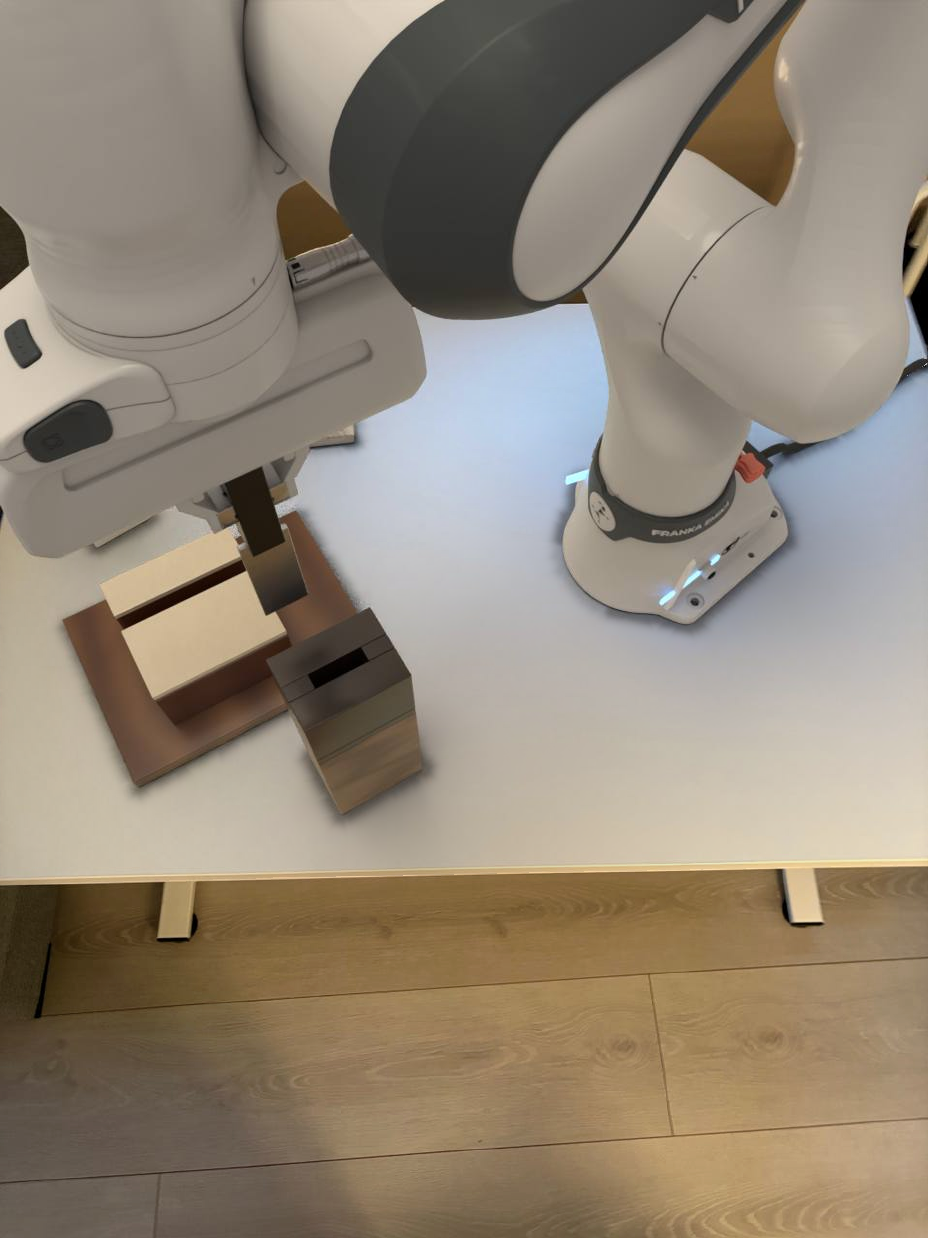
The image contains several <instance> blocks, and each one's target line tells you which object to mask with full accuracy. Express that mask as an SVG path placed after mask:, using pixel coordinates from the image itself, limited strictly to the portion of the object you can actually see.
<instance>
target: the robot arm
mask: <svg viewBox="0 0 928 1238" xmlns="http://www.w3.org/2000/svg"><path fill="white" fill-rule="evenodd" d="M801 6H802V7H801ZM800 7H801V9H800ZM799 9H800V10H799ZM798 10H799V12H798ZM796 12H798V14H797V15H796V17H795V18H794V20H793V21H792V22H791V24H790V25H789V27H788V29H787V31H786V32H785V34H784V35H783V37H782V39H781V40H780V43H779V46H778V49H777V53H776V55H775V61H774V68H773V92H774V97H775V101H776V104H777V108H778V110H779V113H780V115H781V118H782V120H783V122H784V125H785V127H786V129H787V131H788V134H789V136H790V138H791V140H792V142H793V145H794V159H793V165H792V171H791V175H790V178H789V180H788V183H787V185H786V187H785V190H784V193H783V194H782V196H781V198H780V200H779V201H778V203H777V204H776V205H773V204H772V203H770V202H768V201H767V200H766V199H764V198H763V197H761V196H760V195H758V194H757V193H756V192H755V191H753V190H752V189H750V188H749V187H747V186H746V185H745V184H743V183H742V182H740V181H739V180H737V179H736V178H735V177H733V176H732V175H730V174H729V173H728V172H726V171H724V169H722V168H720V167H719V166H718V165H716V164H714V163H713V162H712V161H710V160H709V159H707V158H706V157H704V156H703V155H701V154H699V153H697V152H695V151H692V150H690V149H687V146H688V144H690V141H691V140H692V139H693V137H694V136H695V134H696V133H697V132H698V131H699V129H700V128H701V127H702V126H703V124H704V123H705V122H706V120H708V119H709V117H710V116H711V115H712V113H713V112H714V111H715V109H716V108H717V107H718V106H719V104H721V102H722V101H723V100H724V99H725V97H726V96H727V95H728V94H729V92H731V91H732V89H733V88H734V86H735V85H736V84H737V83H738V82H739V81H740V80H741V78H742V77H743V76H744V75H745V74H746V72H747V71H748V70H749V68H751V66H752V65H753V64H754V62H755V61H756V60H757V59H758V58H759V56H760V55H761V54H762V53H763V52H764V51H765V50H766V49H767V47H768V46H769V45H770V44H771V42H772V41H773V40H774V39H775V37H777V35H778V34H779V33H780V32H781V31H782V30H783V28H784V27H785V26H786V24H787V23H788V22H789V21H790V20H791V18H792V17H793V16H794V15H795V14H796ZM927 173H928V0H0V207H1V208H2V210H3V211H5V213H7V214H8V215H9V216H10V217H11V218H12V220H13V221H14V222H15V223H16V224H17V226H18V227H19V229H20V230H21V232H22V234H23V236H24V241H25V246H26V253H27V259H28V266H27V267H26V268H25V269H23V270H22V271H21V272H20V273H19V274H18V275H17V276H16V277H14V278H13V279H11V281H10V282H8V283H7V284H5V286H3V287H2V288H1V289H0V508H1V510H2V512H3V514H4V516H5V518H6V521H7V523H8V524H9V526H10V528H11V530H12V532H13V534H14V535H15V537H16V539H17V540H18V542H19V543H20V544H21V546H22V547H23V548H24V550H25V551H26V552H27V554H29V555H30V556H32V557H38V558H45V559H61V558H64V557H66V556H68V555H70V554H72V553H75V552H77V551H78V550H81V549H83V548H85V547H88V546H89V545H93V544H94V542H96V541H99V540H101V539H103V538H105V537H107V536H110V535H112V534H114V533H116V532H118V531H121V530H123V529H125V528H127V527H129V526H132V525H134V524H136V523H138V522H140V521H143V520H145V519H147V518H149V517H150V518H151V517H153V516H156V515H158V514H160V513H163V512H164V511H167V510H169V509H171V508H173V507H176V509H177V511H178V512H180V513H184V514H186V515H190V516H193V517H196V518H199V519H202V520H205V521H206V523H207V525H208V527H209V528H210V530H211V532H213V533H214V534H216V533H218V532H220V531H222V530H223V529H226V528H228V527H229V528H230V527H231V526H234V525H236V523H238V522H239V520H238V518H237V516H236V513H235V510H234V507H233V505H232V504H231V502H230V500H229V498H228V497H227V496H226V494H225V492H224V490H223V488H222V486H221V485H222V484H224V483H226V482H228V481H230V480H233V479H235V478H237V477H239V476H241V475H244V474H246V473H248V472H250V471H252V470H254V469H257V468H259V467H261V466H262V467H263V471H264V474H265V477H266V480H267V483H268V486H269V490H270V493H271V496H272V499H273V502H274V505H275V506H277V505H279V504H282V503H285V502H286V501H288V500H290V499H293V498H295V497H297V496H299V491H298V487H297V483H296V478H297V477H298V475H299V473H300V471H301V469H302V467H303V466H304V464H305V462H306V460H307V458H308V456H309V455H310V452H311V450H310V447H309V444H312V443H314V442H316V441H318V440H320V439H323V438H325V437H327V436H329V435H331V434H334V433H336V432H338V431H340V430H342V429H345V428H347V427H349V426H351V425H353V424H354V425H356V424H357V423H360V422H362V421H364V420H366V419H368V418H371V417H373V416H375V415H378V414H380V413H382V412H384V411H386V410H388V409H391V408H393V407H395V406H397V405H399V404H402V403H404V402H406V401H408V400H411V399H413V397H415V395H416V394H417V393H418V391H419V390H420V388H421V387H422V385H423V384H424V382H425V380H426V378H427V373H428V370H427V359H426V354H425V348H424V343H423V338H422V334H421V330H420V327H419V323H418V320H417V319H418V318H417V316H416V314H415V311H414V308H415V309H416V310H418V311H420V312H422V313H424V314H426V315H429V316H432V317H434V318H437V319H438V318H439V319H443V320H453V321H488V320H489V321H491V320H499V319H501V320H502V319H507V318H513V317H519V316H524V315H528V314H534V313H536V312H540V311H543V310H546V309H549V308H551V307H554V306H557V305H559V304H561V303H564V302H566V301H567V300H569V299H571V298H573V297H574V296H575V295H577V294H578V293H579V292H580V291H582V292H583V294H584V296H585V299H586V301H587V304H588V308H589V310H590V313H591V316H592V318H593V322H594V325H595V329H596V333H597V337H598V341H599V345H600V349H601V353H602V357H603V362H604V367H605V373H606V377H607V387H608V400H607V407H606V415H605V421H604V427H603V432H602V433H601V435H600V436H599V438H598V440H597V443H596V444H595V447H594V449H593V451H592V455H591V461H590V464H589V466H588V469H585V470H582V471H579V472H576V473H572V474H569V475H566V477H565V482H564V483H565V485H566V486H567V485H570V484H573V483H576V485H575V489H574V507H573V509H572V512H571V513H570V515H569V518H568V519H567V522H566V524H565V527H564V529H563V533H562V544H561V545H562V554H563V558H564V562H565V564H566V567H567V570H568V572H569V573H570V575H571V576H572V578H573V580H574V581H575V582H576V583H577V585H578V586H579V587H580V588H581V589H582V590H583V591H584V592H586V593H587V594H588V595H589V596H591V597H592V598H593V599H595V600H596V601H598V602H599V603H601V604H604V605H606V606H608V607H610V608H613V609H616V610H619V611H623V612H628V613H637V614H653V615H658V616H660V617H662V618H665V619H667V620H670V621H671V622H672V621H673V622H675V623H678V624H681V625H691V624H693V623H694V622H696V621H697V620H698V619H699V618H701V617H702V616H703V615H704V614H705V613H706V612H707V611H709V610H710V609H711V608H712V607H713V606H715V604H716V603H718V602H719V601H720V600H721V599H722V598H723V597H724V596H726V595H727V594H728V593H729V592H730V591H732V589H734V588H735V587H736V586H737V585H738V584H739V583H740V582H742V581H743V580H744V579H746V577H747V576H748V575H749V574H751V573H752V572H753V571H754V570H756V568H757V567H759V566H760V565H761V564H762V563H764V561H766V560H767V559H768V558H769V557H771V555H772V554H773V553H775V552H776V551H777V550H778V549H779V548H780V547H782V546H783V544H784V543H785V542H786V541H787V537H788V536H789V530H788V524H787V519H786V516H785V513H784V512H783V509H782V506H781V505H780V504H779V501H778V500H777V498H776V497H775V495H774V493H773V491H772V488H771V486H770V484H769V482H768V480H767V479H768V478H769V475H770V474H771V471H772V469H773V467H774V463H773V462H771V461H770V460H769V459H770V458H772V457H773V456H775V455H778V454H780V453H782V454H784V455H788V454H793V453H795V452H798V451H801V450H804V449H806V448H808V447H811V446H812V445H815V444H817V443H819V442H824V441H828V440H830V439H834V438H836V437H839V436H841V435H844V434H845V433H846V434H847V433H848V432H850V431H852V430H853V429H855V428H857V427H859V426H860V425H861V424H863V423H864V422H865V421H867V420H868V419H869V418H871V417H872V416H873V415H874V414H875V413H876V412H877V411H878V410H879V409H881V407H882V406H883V405H884V404H885V403H886V402H887V400H888V399H889V398H890V396H891V395H892V394H893V392H894V390H895V388H896V387H897V385H898V384H900V383H901V382H902V381H904V380H905V379H907V378H908V377H910V375H912V374H913V373H915V372H916V371H918V370H920V369H922V368H928V364H927V365H925V364H926V363H928V358H927V359H924V358H925V357H923V358H919V359H917V360H915V361H913V362H911V363H910V364H908V365H906V364H907V360H908V357H909V351H910V344H911V326H910V325H911V324H910V318H909V314H908V310H907V305H906V301H905V293H904V292H905V291H904V286H903V285H904V284H903V263H904V262H903V261H904V248H905V243H906V237H907V230H908V226H909V223H910V219H911V215H912V213H913V209H914V206H915V203H916V200H917V197H918V195H919V192H920V189H921V187H922V184H923V181H924V180H925V178H926V176H927ZM303 182H306V184H308V185H309V186H310V187H311V188H312V189H313V190H314V191H315V192H316V193H317V194H318V195H319V196H320V197H321V198H322V199H323V200H324V201H325V202H326V203H327V204H328V205H329V206H330V207H331V208H332V209H333V210H334V211H335V212H336V213H337V214H338V215H339V218H340V219H341V221H342V222H343V224H344V226H345V227H346V228H347V230H348V231H349V232H350V233H351V234H349V235H348V236H347V237H346V238H345V239H343V240H340V241H338V242H336V243H333V244H329V245H326V246H320V247H317V248H314V249H311V250H308V251H306V252H304V253H301V254H298V255H296V256H293V257H290V258H289V259H286V258H285V252H284V248H283V242H282V239H281V233H280V229H279V224H278V219H277V217H278V216H277V209H278V204H279V201H280V200H281V197H282V195H283V194H284V193H286V191H287V190H288V189H291V188H292V187H294V186H296V185H298V184H301V183H303ZM413 307H414V308H413ZM924 365H925V366H924ZM922 366H923V367H922ZM921 367H922V368H921ZM919 368H920V369H919ZM917 369H918V370H917ZM914 371H915V372H914ZM912 372H913V373H912ZM909 374H910V375H909ZM907 375H908V376H907ZM753 421H754V422H755V423H757V424H758V425H761V426H763V427H764V428H767V429H768V430H771V431H773V432H775V433H776V434H779V435H781V436H783V437H785V438H787V439H789V440H792V441H793V442H791V443H788V444H787V443H785V442H780V443H776V444H773V445H770V446H769V447H767V448H764V449H763V450H760V451H759V450H758V449H757V448H756V447H755V446H754V445H753V444H751V442H749V441H748V438H749V436H750V433H751V430H752V424H753ZM771 515H772V516H771ZM773 516H774V517H773ZM150 518H149V519H150ZM692 602H694V603H696V604H697V605H694V604H693V603H692Z"/></svg>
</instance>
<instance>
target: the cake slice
mask: <svg viewBox="0 0 928 1238" xmlns="http://www.w3.org/2000/svg"><path fill="white" fill-rule="evenodd" d="M235 538H236V537H234V534H233V532H232V531H231V529H230V527H228V528H226V529H223V530H222V531H220V532H218V533H216V534H214V533H213V532H212V531H211V532H209V533H206V534H205V535H203V536H200V537H198V538H196V539H194V540H192V541H190V542H187V543H185V544H183V545H181V546H179V547H176V548H174V549H172V550H171V551H168V552H166V553H163V554H161V555H159V556H157V557H155V558H153V559H151V560H149V561H147V562H145V563H141V564H139V565H138V566H136V567H133V568H131V569H129V570H127V571H125V572H123V573H121V574H119V575H117V576H114V577H112V578H110V579H107V580H106V581H103V582H102V583H99V587H100V590H101V592H102V594H103V597H104V598H105V599H106V600H107V602H108V605H109V607H110V609H111V611H112V613H113V615H114V617H115V618H116V620H117V621H118V622H119V624H120V625H121V626H122V628H123V629H124V630H125V629H127V628H129V627H131V626H133V625H135V624H137V623H139V622H141V621H143V620H145V619H147V618H150V617H152V616H154V615H156V614H158V613H160V612H162V611H164V610H166V609H168V608H170V607H173V606H175V605H177V604H179V603H181V602H183V601H185V600H187V599H189V598H191V597H193V596H195V595H198V594H200V593H202V592H204V591H206V590H208V589H210V588H212V587H214V586H216V585H218V584H220V583H223V582H225V581H227V580H229V579H231V578H233V577H235V576H237V575H239V574H241V573H243V572H245V571H246V569H245V566H244V564H243V561H242V559H241V556H240V554H239V552H238V549H237V546H238V543H237V542H236V540H235Z"/></svg>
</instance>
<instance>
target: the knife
mask: <svg viewBox="0 0 928 1238" xmlns="http://www.w3.org/2000/svg"><path fill="white" fill-rule="evenodd" d="M221 486H222V488H223V490H224V492H225V494H226V496H227V497H228V498H229V500H230V502H231V504H232V505H233V507H234V510H235V513H236V516H237V518H238V520H239V522H238V523H236V524H235V527H236V529H237V531H238V533H239V535H240V536H241V537H242V538H243V540H244V543H242V544H240V545H238V546H237V549H238V552H239V554H240V556H241V559H242V561H243V564H244V566H245V569H246V571H247V573H248V576H249V578H250V581H251V583H252V585H253V588H254V590H255V593H256V595H257V598H258V600H259V602H260V605H261V607H262V610H263V612H264V614H265V616H267V615H269V614H271V613H273V612H275V611H277V610H279V609H281V608H283V607H285V606H287V605H289V604H291V603H293V602H295V601H297V600H299V599H301V598H303V597H305V596H307V595H308V592H307V588H306V585H305V582H304V578H303V575H302V572H301V569H300V565H299V562H298V559H297V556H296V552H295V549H294V546H293V542H292V539H291V536H290V533H289V529H288V527H287V525H286V524H285V523H284V524H282V525H281V524H280V521H279V518H280V517H279V515H278V512H277V509H276V505H274V502H273V499H272V496H271V493H270V490H269V486H268V483H267V480H266V477H265V474H264V471H263V467H262V466H261V467H259V468H257V469H254V470H252V471H250V472H248V473H246V474H244V475H241V476H239V477H237V478H235V479H233V480H230V481H228V482H226V483H224V484H222V485H221Z"/></svg>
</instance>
